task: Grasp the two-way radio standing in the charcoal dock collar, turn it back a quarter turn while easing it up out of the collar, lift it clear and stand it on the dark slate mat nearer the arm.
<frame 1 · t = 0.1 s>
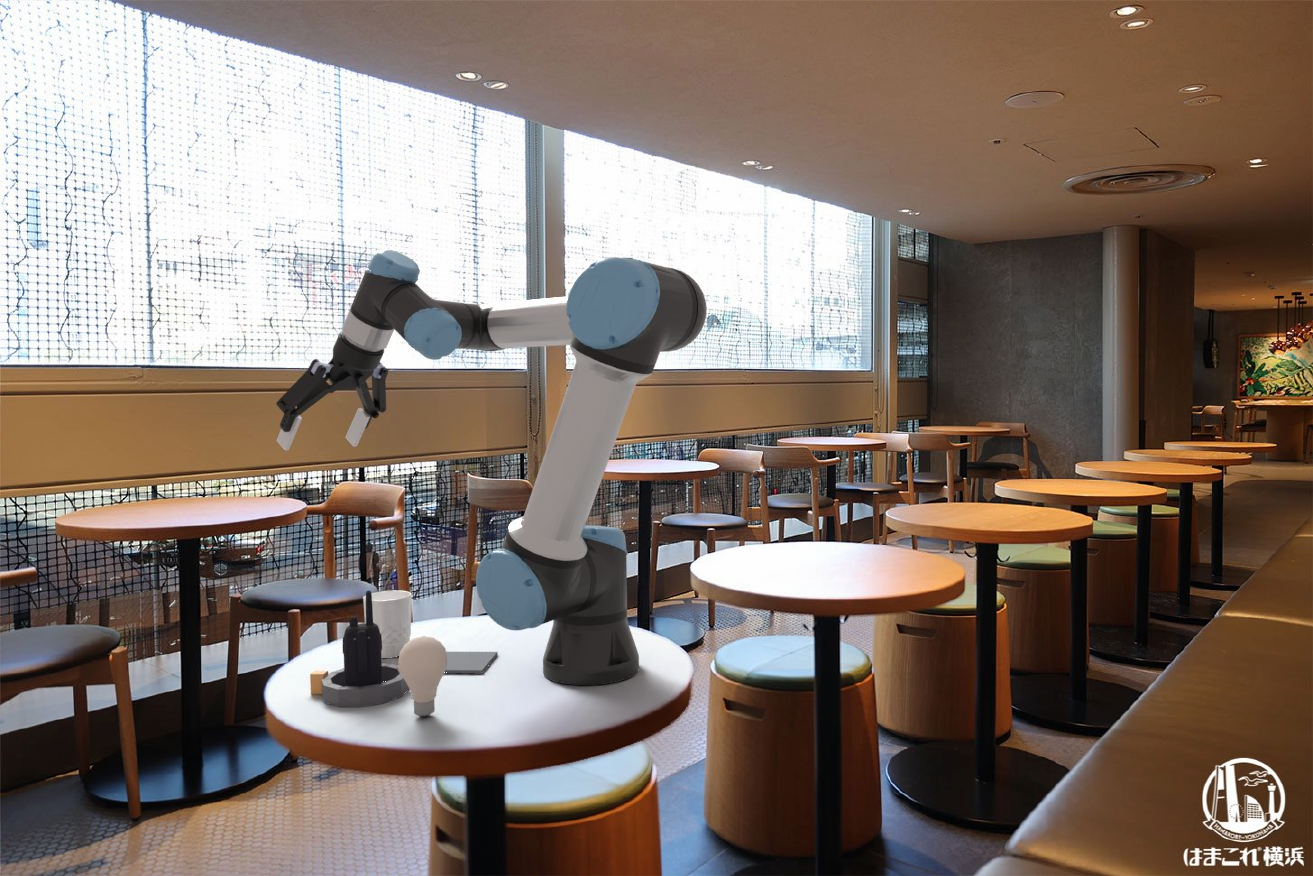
hand: (317, 443, 151), 36 cm above the table, tool tilted 35°, fingers open, 13 cm apart
light bulb: (424, 718, 119), on the table
white cup: (389, 654, 149), on the table
two-way radio: (363, 694, 129), resting in dock collar
mat: (459, 664, 142), on the table
dock collar: (366, 692, 129), on the table
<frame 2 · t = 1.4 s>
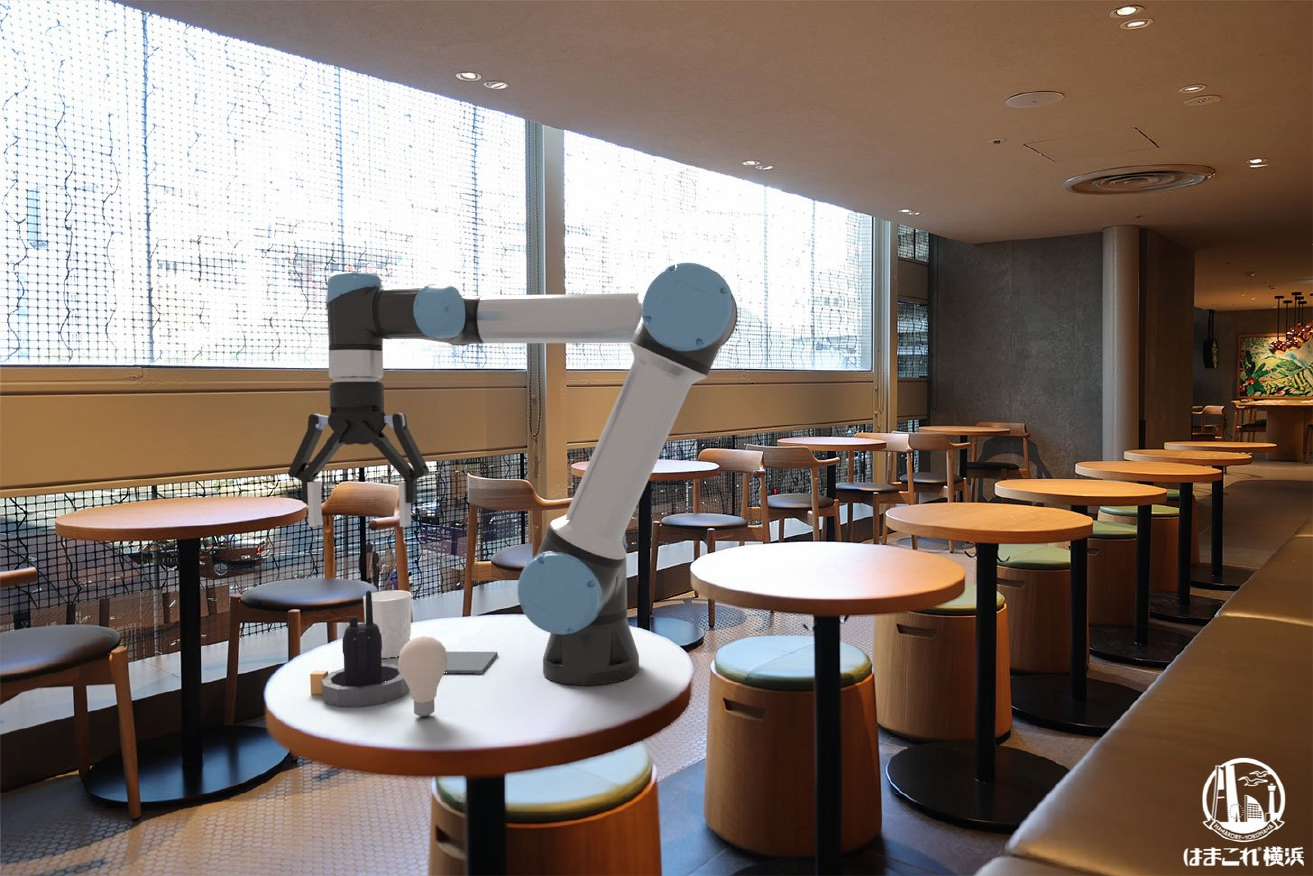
hand: (360, 525, 128), 25 cm above the table, tool pointing down, fingers open, 13 cm apart
nothing on the table moved.
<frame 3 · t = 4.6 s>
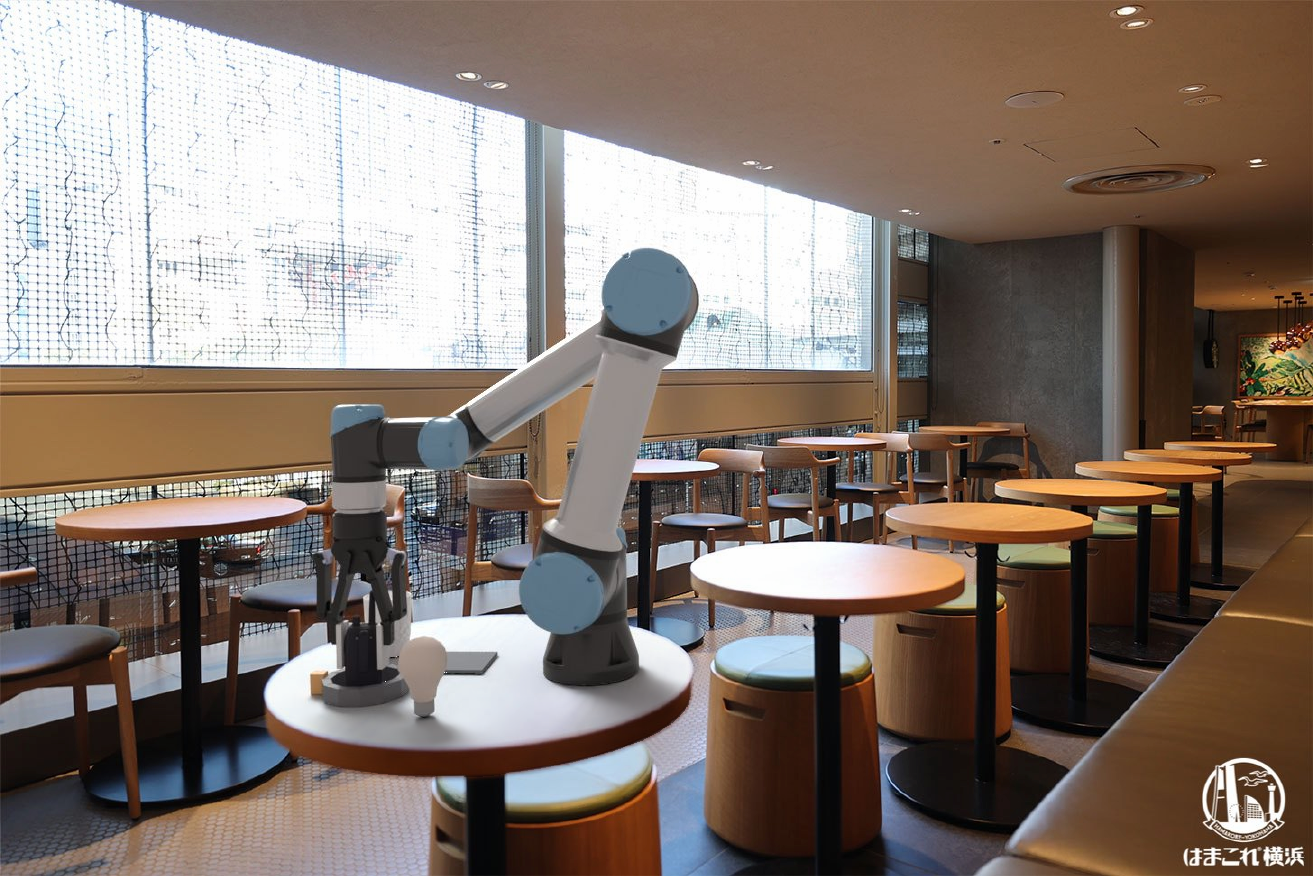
hand: (363, 666, 129), 4 cm above the table, tool pointing down, fingers closed on two-way radio, 5 cm apart
two-way radio: (363, 693, 129), resting in dock collar, touching gripper
everything else where it was.
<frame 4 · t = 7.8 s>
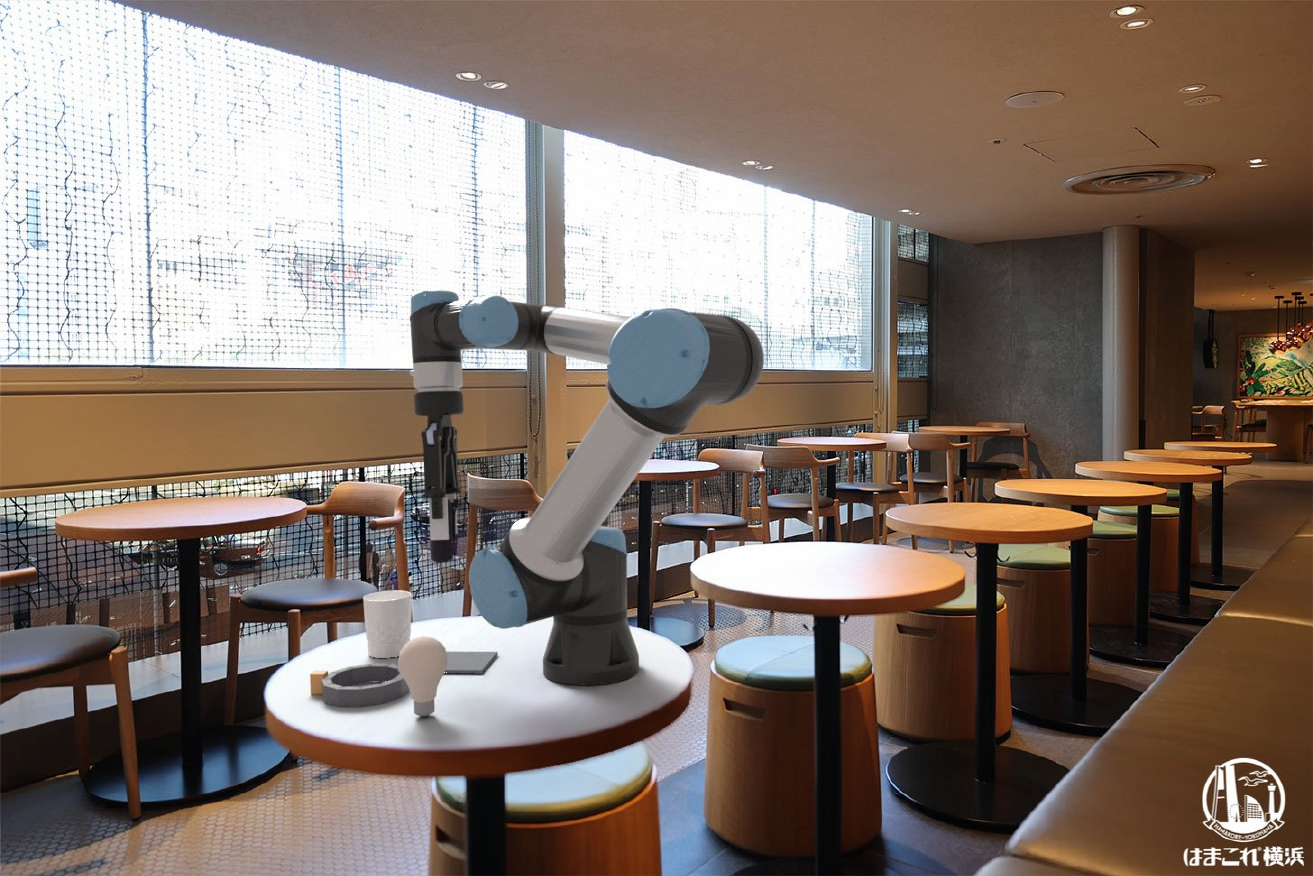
hand: (444, 536, 139), 21 cm above the table, tool pointing down, fingers closed on two-way radio, 5 cm apart
two-way radio: (445, 562, 139), point 17 cm above the table, touching gripper
everything else where it was.
when the fingers open (5 cm above the table, at t = 11.4 s): two-way radio stays where it is, resting on mat.
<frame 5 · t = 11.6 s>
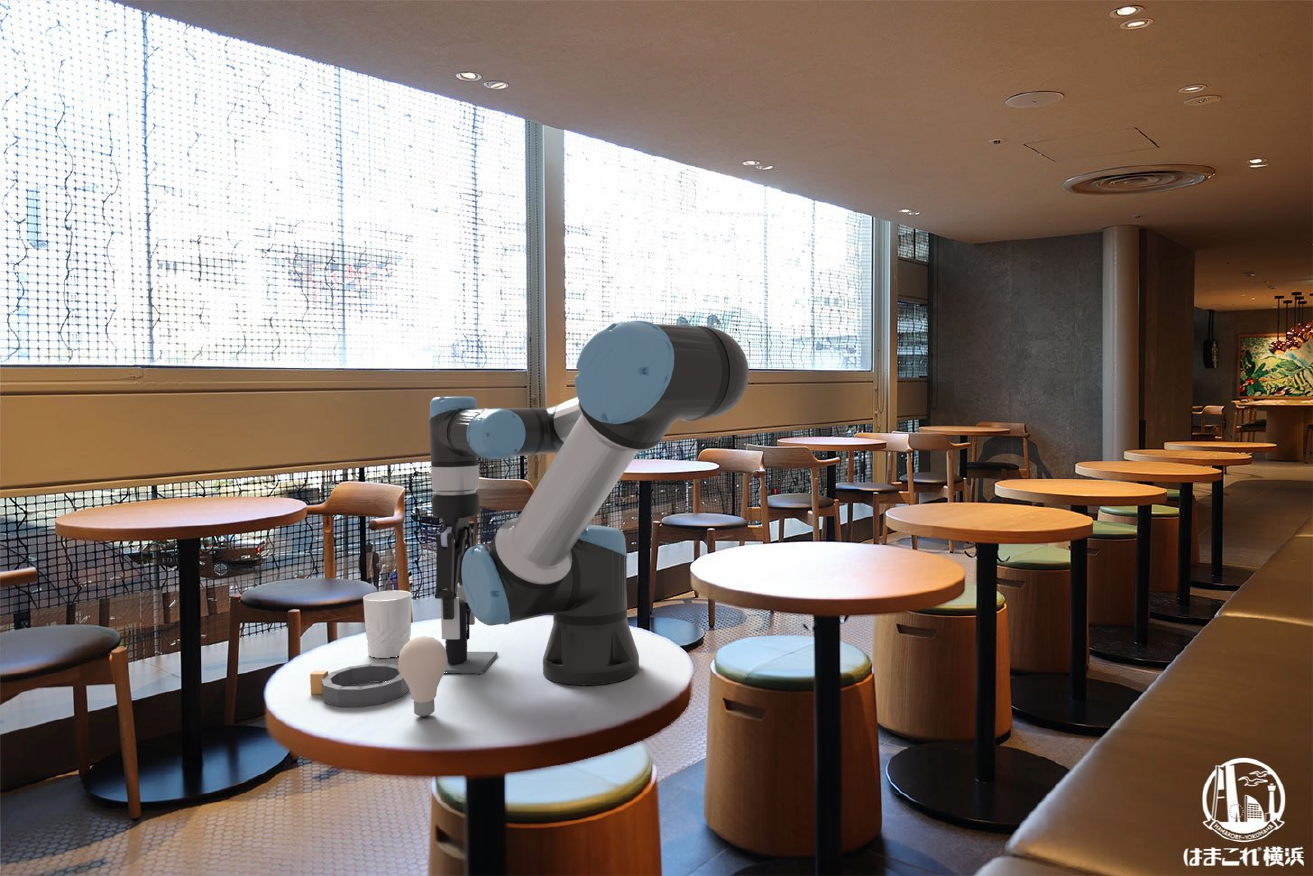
hand: (458, 631, 142), 5 cm above the table, tool pointing down, fingers open, 8 cm apart
two-way radio: (460, 661, 142), resting on mat
everything else where it was.
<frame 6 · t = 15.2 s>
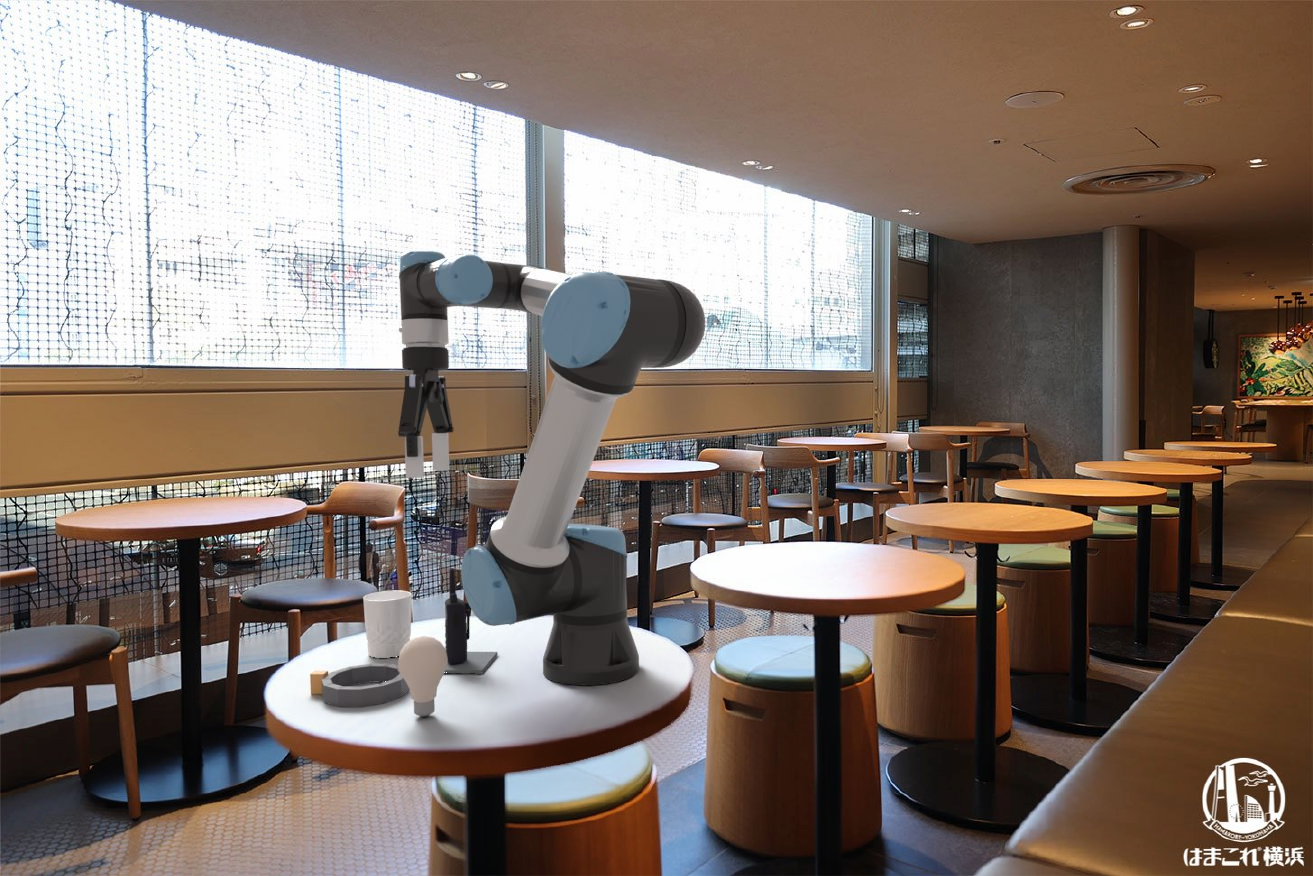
hand: (428, 474, 146), 31 cm above the table, tool pointing down, fingers open, 13 cm apart
nothing on the table moved.
at the end: two-way radio inside the target area on the mat (0.1 cm from its centre), point 0.4 cm above the mat's base; two-way radio tilted 0°; the gripper is holding nothing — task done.
